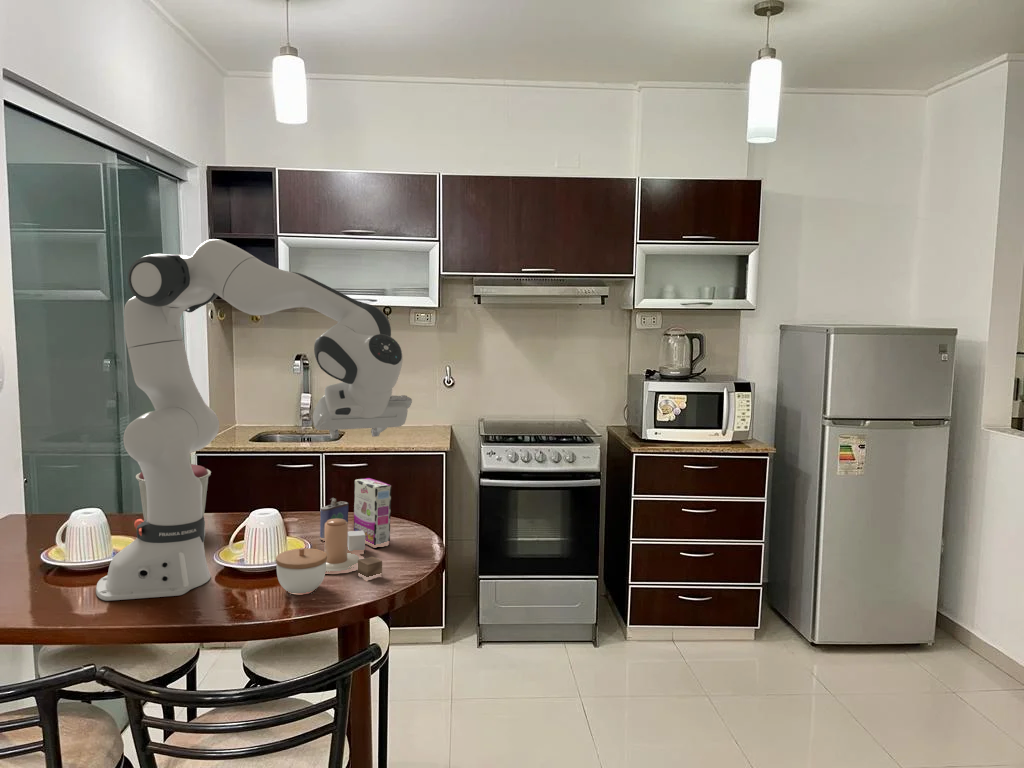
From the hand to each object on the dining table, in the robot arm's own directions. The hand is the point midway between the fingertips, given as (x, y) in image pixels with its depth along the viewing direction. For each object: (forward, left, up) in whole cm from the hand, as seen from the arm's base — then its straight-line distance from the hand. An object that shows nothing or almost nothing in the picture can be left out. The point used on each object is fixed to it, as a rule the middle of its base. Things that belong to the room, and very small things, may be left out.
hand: (354, 435), depth 164 cm
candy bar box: (+12, +23, -34) cm, 43 cm away
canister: (-34, +49, -34) cm, 69 cm away
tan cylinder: (-1, +10, -32) cm, 34 cm away
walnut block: (+4, -1, -33) cm, 34 cm away
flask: (+4, +31, -34) cm, 46 cm away
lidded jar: (-12, -3, -34) cm, 36 cm away
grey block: (+6, +17, -33) cm, 38 cm away
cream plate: (-1, +10, -33) cm, 35 cm away
